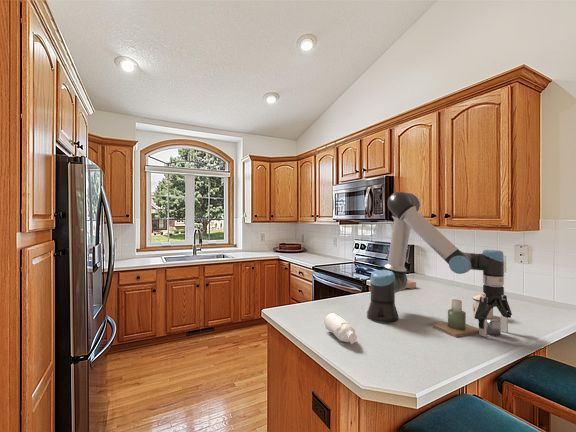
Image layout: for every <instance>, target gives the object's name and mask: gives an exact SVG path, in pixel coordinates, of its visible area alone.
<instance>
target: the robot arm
mask: <svg viewBox="0 0 576 432" xmlns="http://www.w3.org/2000/svg"><path fill="white" fill-rule="evenodd" d="M387 208H388V210H389V211H390V212H391V213H392V214H391V218H392V219H393V227H392V233H391V240H390V246H389V251H388V259H387V263H386V264H384V265H383V269H379V270H374V271H372V273H371V274H370V303H369V305H368V309H367V311H366V318H367V319H369V320H370V319H371V320H370V321H372V320H373V322H376V323H382V324H394V323H397V322H398V321H399V312H398V309H397V307H396V304H395V300H396V299H395V297H396V296H395V294H396V293H398V292H401V291H403V290H405V289H404V288H405V287H406V285H407V280H408V276H407V270H408V269H407V268H406V267H405V264H406V263H405V262H406V257H407V253H408V247H409V246H408V245H409V239H410V234H411V229H412V230H413V232H415V233H416V234H417V235H418V236H419V237H420V238H421V239H422V240H423V241H424V242H425V243H426V244H427V245H428V246H429V247H430V248H431V249H432V250H433V251H434V252H435V253H437V255H438V256H439V257H441V258H442V260H444V261H445V262H446V263H447V264H448V266H449V269H450V270H451V271H452V272H453V273H455V274H459V275H462V274H466V273H468V272H470V270H473V271H482V283H483V285H482V293H484V294H485V295H486V296H485V298H484V297H480V302H479V305H478V308H477V311H476V314H475V315H474V319H475V320H477V321H478V328H479V333H478V334H479V335H480V336H482V337H484V338H487V333H486V319H487V318H486V317H487V316H488V314H489V312H490V310H491V309H492V308H493V309H494V308H495V307H496V308H497V310H498V312H499V313H500V314H501V315H500V316H499V321H501V332H504V333H507V334H508V333H509V319H511V318H512V315H513V313H512V310H511V308H510V305H509V302H508V297H507V295H506V294H505V287H504V286H505V280H504V279H505V278H504V276H505V260H504V252H503V251H502V250H499V249H484V250H482V253H473V252H472V253H471V252H462V250H460V249H459V248H458V247H457V246H456V245H455V244H454V243H452V241H450V240H449V239H448V238H447V237H446V236H445V235H444V234H443V233H442V232H441V231H440V230H438V229H437V228H436V227H435V226H434V225H433V224H432V223H431V222H430V221H429V220H428V219H427V218H426V217H424V216H423V215H422V214H421V213H420V212H419V210H420V208H421V201H420V200H419V198H418V197H417V196H416V195H415V194H413V193H410V192H404V191H395V192H393V193H392V194H391V195H390V196H389V197H388V198H387ZM487 304H488V305H487Z"/></svg>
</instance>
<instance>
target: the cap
mask: <svg viewBox="0 0 576 432" xmlns="http://www.w3.org/2000/svg"><path fill="white" fill-rule="evenodd" d="M485 321H486V335H489V336H493V337H501V335H502V334H501V333H502V331H501V321H500V319H497V318H486V319H485Z"/></svg>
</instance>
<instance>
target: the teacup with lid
mask: <svg viewBox="0 0 576 432" xmlns="http://www.w3.org/2000/svg"><path fill="white" fill-rule="evenodd" d="M485 296H486V294H485V293H484V292H481V293H480V294H479V295H474V296H472V306H473V307H472V309H473V312H472V313H473V315H474V316H475V314H476V311H477V308H478V305H479V302H480V297H484V298H485ZM487 305H488V304H487ZM487 318H492V319H494V307H493V308H492V309H491V310H490V312H489V314H488V316H487V317H486V319H487Z"/></svg>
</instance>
